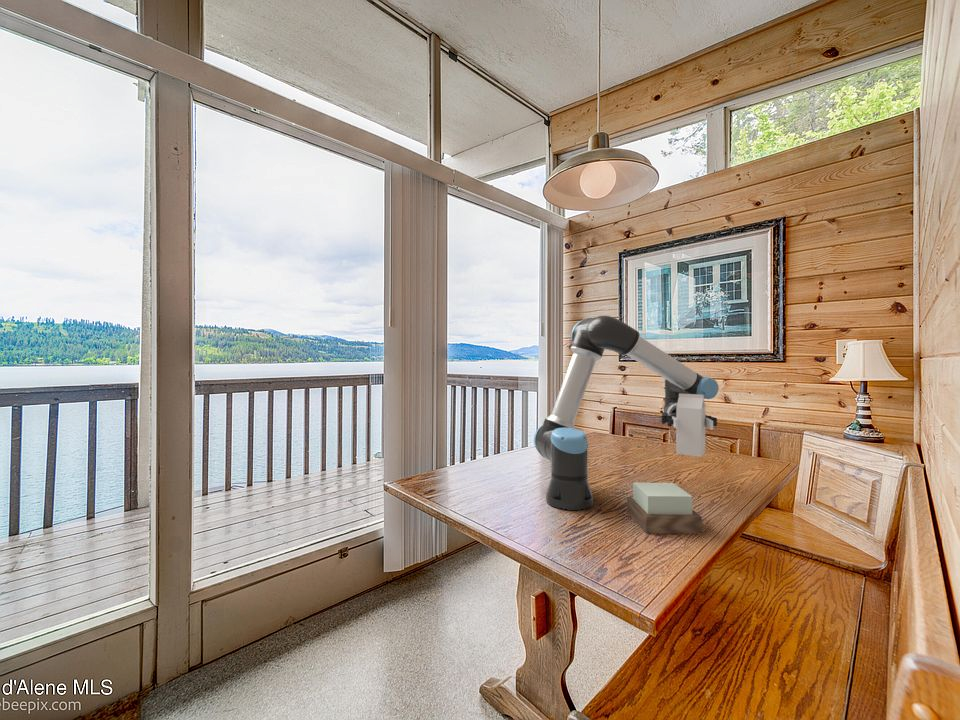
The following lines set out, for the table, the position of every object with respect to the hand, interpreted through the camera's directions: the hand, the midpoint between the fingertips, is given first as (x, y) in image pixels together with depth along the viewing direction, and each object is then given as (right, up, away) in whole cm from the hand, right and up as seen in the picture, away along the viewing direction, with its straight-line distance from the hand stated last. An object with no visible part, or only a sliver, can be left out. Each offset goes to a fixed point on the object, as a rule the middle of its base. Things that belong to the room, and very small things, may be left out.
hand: (694, 424), depth 127 cm
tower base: (-13, -27, -8) cm, 31 cm away
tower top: (-14, -22, -8) cm, 27 cm away
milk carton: (+1, -10, +4) cm, 11 cm away
